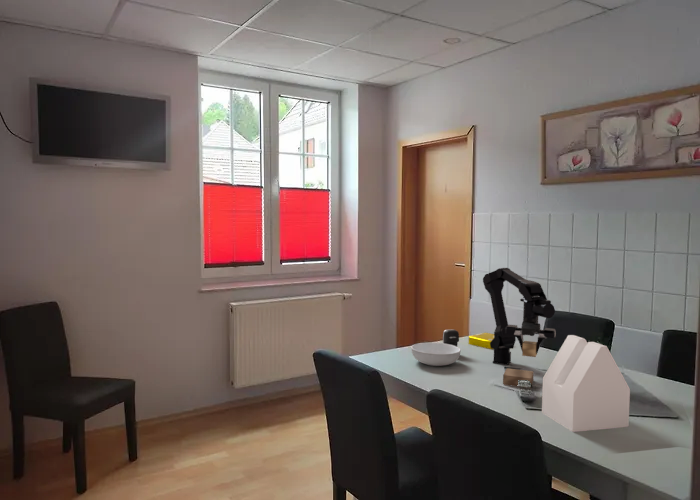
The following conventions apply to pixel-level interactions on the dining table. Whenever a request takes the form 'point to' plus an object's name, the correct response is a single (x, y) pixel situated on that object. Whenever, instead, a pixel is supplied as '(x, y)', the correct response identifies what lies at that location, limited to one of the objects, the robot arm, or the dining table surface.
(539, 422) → the dining table surface
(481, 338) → the element tile
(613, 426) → the white slotted house block
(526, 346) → the oak cube
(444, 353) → the serving bowl
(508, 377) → the walnut base
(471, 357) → the dining table surface
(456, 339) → the battery charger
